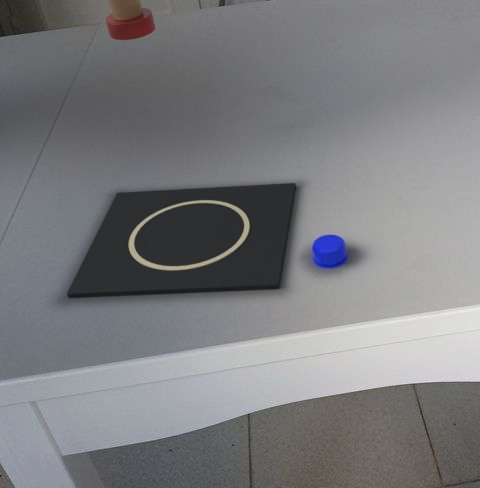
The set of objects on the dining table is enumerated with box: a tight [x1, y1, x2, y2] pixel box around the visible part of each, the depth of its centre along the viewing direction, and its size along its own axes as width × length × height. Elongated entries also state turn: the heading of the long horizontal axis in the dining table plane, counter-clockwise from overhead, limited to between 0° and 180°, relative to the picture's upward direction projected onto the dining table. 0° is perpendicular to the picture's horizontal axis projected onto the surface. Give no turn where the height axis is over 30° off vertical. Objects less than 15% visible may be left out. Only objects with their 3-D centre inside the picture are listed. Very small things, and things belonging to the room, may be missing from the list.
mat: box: [66, 182, 297, 299], centre depth 66 cm, size 18×16×1 cm
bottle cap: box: [311, 234, 348, 269], centre depth 62 cm, size 3×3×2 cm
